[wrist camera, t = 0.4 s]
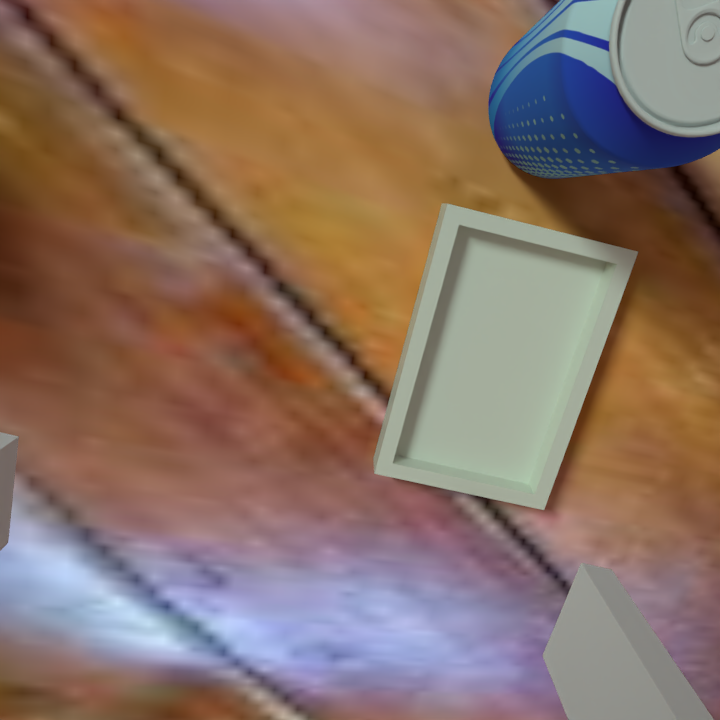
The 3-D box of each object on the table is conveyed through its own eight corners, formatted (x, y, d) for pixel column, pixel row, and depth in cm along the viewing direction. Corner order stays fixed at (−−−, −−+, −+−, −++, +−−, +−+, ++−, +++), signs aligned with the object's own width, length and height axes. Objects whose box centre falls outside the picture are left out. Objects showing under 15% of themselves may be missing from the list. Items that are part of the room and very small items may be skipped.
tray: (442, 203, 36) (447, 203, 34) (621, 248, 37) (638, 251, 35) (373, 458, 41) (374, 473, 39) (534, 493, 42) (544, 510, 39)
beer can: (648, 63, 34) (890, -49, 19) (582, 200, 36) (750, 201, 21) (521, 4, 33) (664, -166, 18) (460, 147, 35) (541, 107, 20)
